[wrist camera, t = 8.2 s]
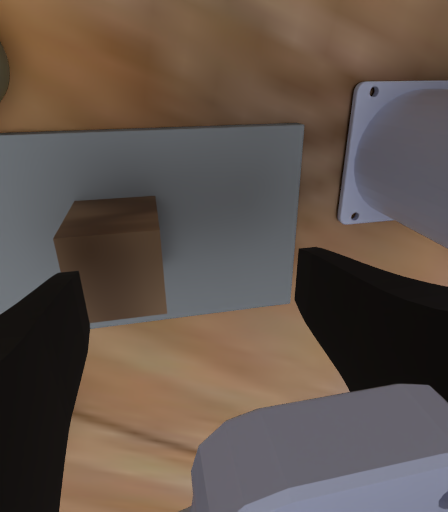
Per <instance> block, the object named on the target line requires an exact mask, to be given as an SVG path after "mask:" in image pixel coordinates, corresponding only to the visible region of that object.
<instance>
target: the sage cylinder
mask: <svg viewBox="0 0 448 512" xmlns="http://www.w3.org/2000/svg"><path fill="white" fill-rule="evenodd" d="M9 76H10V73H9V64H8V59H7V56H6V53H5V51H4V48H3V46H2V44H1V42H0V101H1V100H2V99H3V97H4V95H5V93H6V91H7V88H8V84H9Z"/></svg>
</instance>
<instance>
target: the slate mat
mask: <svg viewBox="0 0 448 512" xmlns="http://www.w3.org/2000/svg"><path fill="white" fill-rule="evenodd" d="M303 136H304V125H303V124H299V123H282V124H253V125H223V126H194V127H164V128H135V129H105V130H76V131H46V132H17V133H0V314H2V313H3V312H5V311H6V310H8V309H9V308H10V307H12V306H13V305H15V304H16V303H18V302H19V301H20V300H22V299H23V298H24V297H25V296H27V295H28V294H29V293H31V292H32V291H33V290H35V289H36V288H37V287H39V286H40V285H41V284H42V283H44V282H45V281H46V280H48V279H49V278H50V277H52V276H53V275H55V274H57V273H60V267H59V263H58V259H57V254H56V250H55V246H54V241H53V238H54V236H55V234H56V232H57V231H58V229H59V227H60V225H61V224H62V222H63V220H64V218H65V217H66V215H67V213H68V211H69V210H70V208H71V206H72V204H73V203H74V201H81V200H97V199H112V198H128V197H143V196H155V197H156V205H157V213H158V220H159V228H160V238H161V249H162V260H163V271H164V282H165V293H166V304H167V314H161V315H153V316H145V317H136V318H128V319H120V320H112V321H104V322H96V323H90V329H93V328H100V327H108V326H116V325H124V324H132V323H140V322H147V321H155V320H163V319H171V318H179V317H187V316H194V315H202V314H210V313H218V312H226V311H234V310H242V309H249V308H257V307H265V306H273V305H281V304H289V303H290V298H291V286H292V273H293V261H294V248H295V236H296V223H297V211H298V198H299V186H300V173H301V161H302V148H303Z"/></svg>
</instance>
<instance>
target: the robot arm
mask: <svg viewBox="0 0 448 512" xmlns="http://www.w3.org/2000/svg"><path fill="white" fill-rule="evenodd" d="M372 87H374V90H375V92H374V94H373V95H372V96H370V90H371V88H372ZM355 212H356V215H355V217H354V218H351V216H352V214H353V213H355ZM338 220H339V221H340V222H341V223H342V224H358V223H369V222H380V221H391V220H395V221H397V222H399V223H401V224H403V225H405V226H407V227H408V228H410V229H412V230H414V231H416V232H418V233H420V234H421V235H423V236H425V237H427V238H429V239H431V240H433V241H434V242H436V243H438V244H440V245H442V246H444V247H446V248H448V80H445V81H366V82H360V83H359V84H357V86H356V87H355V89H354V94H353V101H352V109H351V117H350V124H349V132H348V140H347V147H346V155H345V162H344V170H343V178H342V185H341V193H340V201H339V208H338ZM295 302H296V304H297V306H298V308H299V311H300V313H301V315H302V317H303V319H304V321H305V323H306V324H307V326H308V327H309V329H310V330H311V332H312V333H313V335H314V336H315V338H316V339H317V341H318V342H319V344H320V345H321V347H322V348H323V350H324V351H325V353H326V354H327V355H328V357H329V358H330V360H331V361H332V363H333V364H334V366H335V367H336V369H337V370H338V372H339V373H340V375H341V376H342V378H343V380H344V381H345V383H346V385H347V387H348V389H349V391H350V392H348V393H342V394H337V395H331V396H325V397H320V398H314V399H309V400H303V401H298V402H292V403H286V404H281V405H275V406H270V407H264V408H259V409H255V410H253V411H250V412H247V413H245V414H242V415H239V416H237V417H234V418H231V419H229V420H226V421H225V422H224V423H223V424H222V425H221V426H220V427H219V428H218V429H216V430H215V431H214V432H213V433H212V434H211V435H210V436H209V437H208V438H207V439H206V440H204V441H203V442H202V443H201V444H200V445H199V447H198V451H197V454H196V457H195V460H194V463H193V467H192V470H191V475H192V487H193V500H192V506H190V507H188V508H186V509H183V510H181V511H179V512H448V287H445V286H440V285H436V284H431V283H427V282H423V281H419V280H415V279H411V278H407V277H403V276H400V275H397V274H394V273H390V272H387V271H384V270H381V269H378V268H375V267H372V266H370V265H367V264H364V263H361V262H359V261H356V260H353V259H351V258H348V257H345V256H343V255H340V254H337V253H335V252H332V251H329V250H326V249H322V248H318V247H311V248H301V249H299V253H298V265H297V277H296V288H295ZM89 333H90V322H89V317H88V313H87V308H86V303H85V298H84V293H83V289H82V284H81V279H80V274H79V271H70V272H60V273H57V274H55V275H53V276H52V277H50V278H49V279H48V280H46V281H45V282H44V283H42V284H41V285H40V286H39V287H37V288H36V289H35V290H33V291H32V292H31V293H29V294H28V295H27V296H25V297H24V298H23V299H22V300H20V301H19V302H18V303H16V304H15V305H13V306H12V307H10V308H9V309H8V310H6V311H5V312H3V313H2V314H0V512H59V506H60V497H61V488H62V479H63V471H64V462H65V455H66V448H67V440H68V433H69V427H70V422H71V417H72V413H73V409H74V405H75V401H76V397H77V393H78V389H79V385H80V381H81V377H82V373H83V369H84V365H85V361H86V357H87V353H88V344H89Z"/></svg>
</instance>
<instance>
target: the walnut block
mask: <svg viewBox="0 0 448 512" xmlns="http://www.w3.org/2000/svg"><path fill="white" fill-rule="evenodd" d="M53 241H54V246H55V250H56V254H57V259H58V263H59V267H60V272H70V271H79V274H80V279H81V284H82V289H83V293H84V298H85V303H86V308H87V313H88V317H89V322H90V323H96V322H104V321H112V320H120V319H128V318H136V317H145V316H153V315H161V314H167V304H166V293H165V282H164V271H163V260H162V249H161V238H160V228H159V220H158V213H157V205H156V197H155V196H143V197H128V198H112V199H97V200H81V201H74V203H73V204H72V206H71V208H70V210H69V211H68V213H67V215H66V217H65V218H64V220H63V222H62V224H61V225H60V227H59V229H58V231H57V232H56V234H55V236H54V238H53Z"/></svg>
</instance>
